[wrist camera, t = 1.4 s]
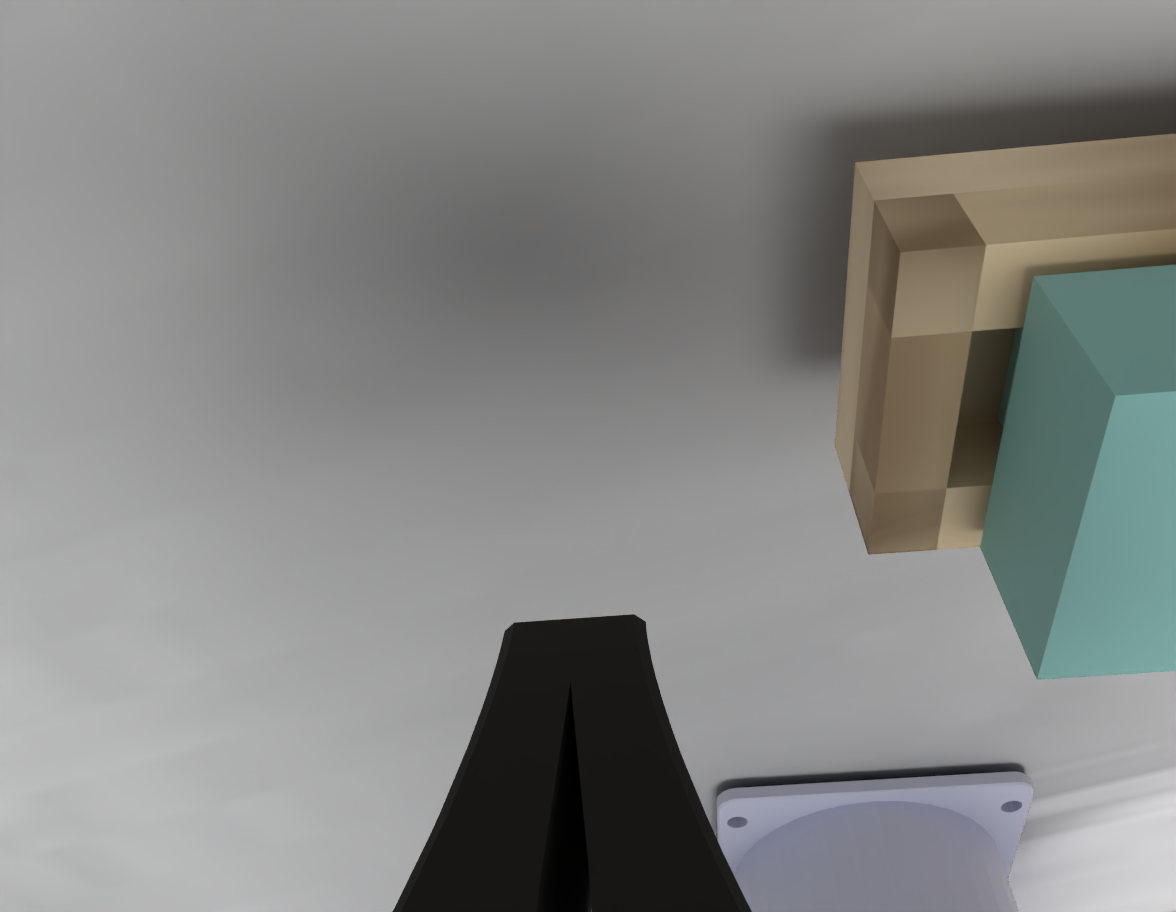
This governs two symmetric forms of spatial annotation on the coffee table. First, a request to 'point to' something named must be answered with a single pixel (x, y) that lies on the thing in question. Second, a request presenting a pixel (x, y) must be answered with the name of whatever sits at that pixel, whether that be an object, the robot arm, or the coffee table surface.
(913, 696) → the coffee table surface
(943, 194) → the tan wooden slatted block
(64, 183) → the coffee table surface
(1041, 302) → the teal cube
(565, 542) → the coffee table surface
